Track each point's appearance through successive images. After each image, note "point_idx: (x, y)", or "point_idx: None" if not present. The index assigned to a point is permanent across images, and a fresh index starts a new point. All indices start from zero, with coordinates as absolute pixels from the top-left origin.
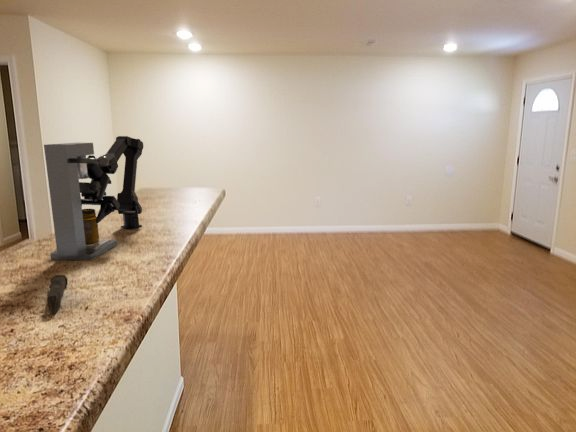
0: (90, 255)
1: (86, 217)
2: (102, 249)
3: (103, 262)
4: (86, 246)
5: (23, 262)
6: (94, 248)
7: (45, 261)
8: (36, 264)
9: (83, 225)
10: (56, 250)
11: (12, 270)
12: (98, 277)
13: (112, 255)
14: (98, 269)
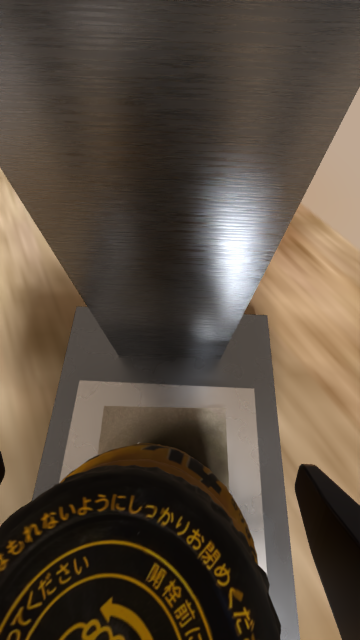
0: (78, 308)
1: (97, 464)
2: (55, 413)
3: (27, 299)
4: (138, 404)
5: (333, 287)
6: (83, 380)
7: (261, 300)
8: (268, 271)
9: (71, 278)
10: (270, 357)
11: (300, 222)
12: (10, 187)
13: (8, 388)
14: (27, 238)
